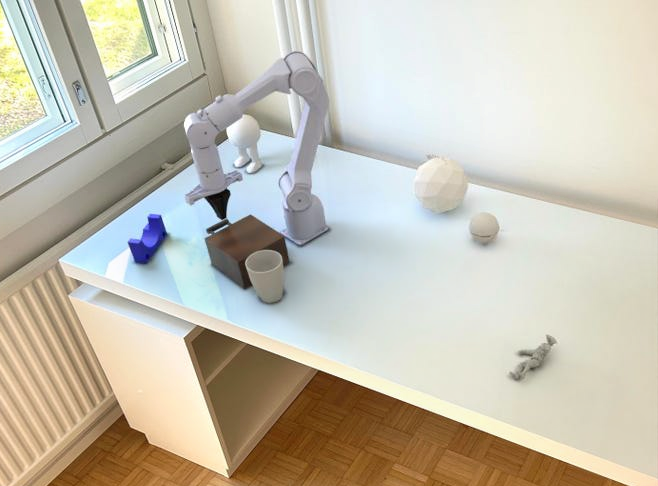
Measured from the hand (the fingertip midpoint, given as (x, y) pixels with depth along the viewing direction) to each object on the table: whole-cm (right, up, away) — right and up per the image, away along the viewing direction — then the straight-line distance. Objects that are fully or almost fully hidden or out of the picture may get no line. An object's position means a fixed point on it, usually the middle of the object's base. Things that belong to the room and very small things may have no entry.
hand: (222, 217), depth 175 cm
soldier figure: (+70, -35, -24) cm, 82 cm away
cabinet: (+6, -11, +2) cm, 13 cm away
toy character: (-1, +22, +35) cm, 41 cm away
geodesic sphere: (+53, +6, +17) cm, 56 cm away
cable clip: (-21, -6, +9) cm, 23 cm away
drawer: (+3, -8, +4) cm, 10 cm away
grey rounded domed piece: (+64, -5, +6) cm, 65 cm away
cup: (+13, -19, -6) cm, 24 cm away
